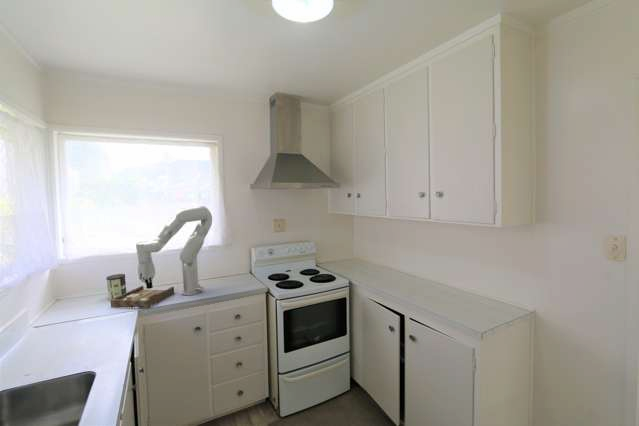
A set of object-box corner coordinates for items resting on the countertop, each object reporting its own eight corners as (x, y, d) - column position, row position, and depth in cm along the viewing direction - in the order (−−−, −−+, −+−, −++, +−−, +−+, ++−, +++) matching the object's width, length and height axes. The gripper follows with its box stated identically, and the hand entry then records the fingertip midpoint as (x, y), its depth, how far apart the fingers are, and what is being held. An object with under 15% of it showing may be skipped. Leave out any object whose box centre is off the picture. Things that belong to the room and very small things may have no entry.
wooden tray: (174, 293, 198) (173, 286, 197) (146, 308, 173) (146, 301, 172) (142, 292, 201) (141, 285, 201) (111, 307, 177) (110, 300, 176)
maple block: (140, 300, 181) (139, 294, 181) (133, 303, 176) (133, 297, 176) (133, 299, 182) (132, 293, 182) (126, 303, 177) (126, 296, 177)
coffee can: (122, 292, 201) (120, 273, 200) (129, 295, 196) (128, 275, 195) (105, 297, 193) (103, 277, 191) (112, 300, 187) (110, 279, 186)
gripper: (148, 257, 196) (152, 284, 198) (131, 264, 181) (135, 292, 183) (158, 257, 195) (162, 283, 197) (142, 264, 180) (146, 292, 182)
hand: (149, 288), depth 190 cm, fingers closed
